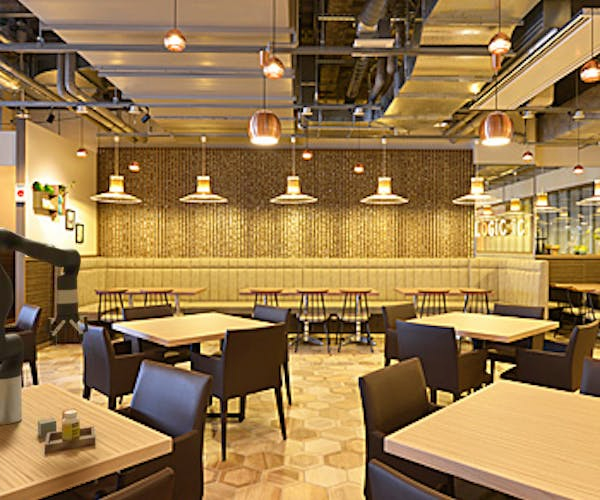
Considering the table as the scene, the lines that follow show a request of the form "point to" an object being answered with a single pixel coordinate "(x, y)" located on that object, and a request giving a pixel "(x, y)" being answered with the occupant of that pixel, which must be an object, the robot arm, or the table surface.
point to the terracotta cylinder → (67, 410)
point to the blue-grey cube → (46, 426)
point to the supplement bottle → (70, 426)
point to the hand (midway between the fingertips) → (68, 344)
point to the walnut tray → (56, 443)
